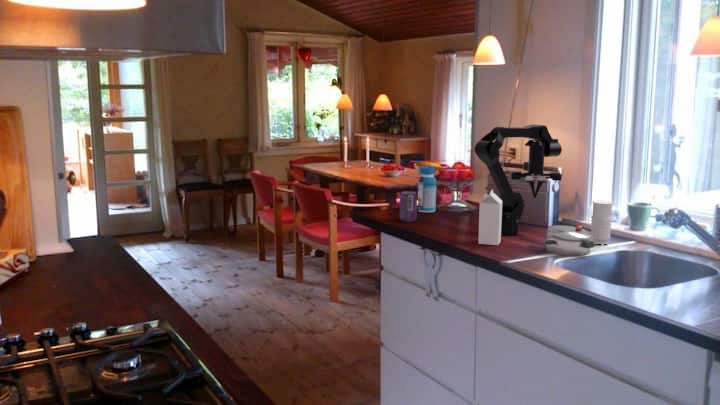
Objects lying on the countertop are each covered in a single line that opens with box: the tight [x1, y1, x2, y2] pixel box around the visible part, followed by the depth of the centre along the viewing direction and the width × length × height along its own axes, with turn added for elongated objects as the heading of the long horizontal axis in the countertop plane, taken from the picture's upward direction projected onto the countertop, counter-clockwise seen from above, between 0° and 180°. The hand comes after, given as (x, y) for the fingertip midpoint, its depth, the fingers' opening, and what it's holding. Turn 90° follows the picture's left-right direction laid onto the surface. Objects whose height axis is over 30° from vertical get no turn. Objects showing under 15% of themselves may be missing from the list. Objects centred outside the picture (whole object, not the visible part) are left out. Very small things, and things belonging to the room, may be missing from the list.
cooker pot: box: [544, 233, 595, 257], centre depth 218 cm, size 16×20×5 cm
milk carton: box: [477, 189, 502, 246], centre depth 229 cm, size 7×7×19 cm
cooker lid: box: [546, 224, 592, 241], centre depth 218 cm, size 14×14×2 cm
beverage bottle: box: [417, 165, 438, 213], centre depth 289 cm, size 8×8×20 cm
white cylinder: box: [590, 199, 614, 245], centre depth 229 cm, size 7×7×15 cm
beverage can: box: [399, 190, 418, 223], centre depth 268 cm, size 7×7×12 cm
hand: (534, 197), depth 249 cm, fingers closed
